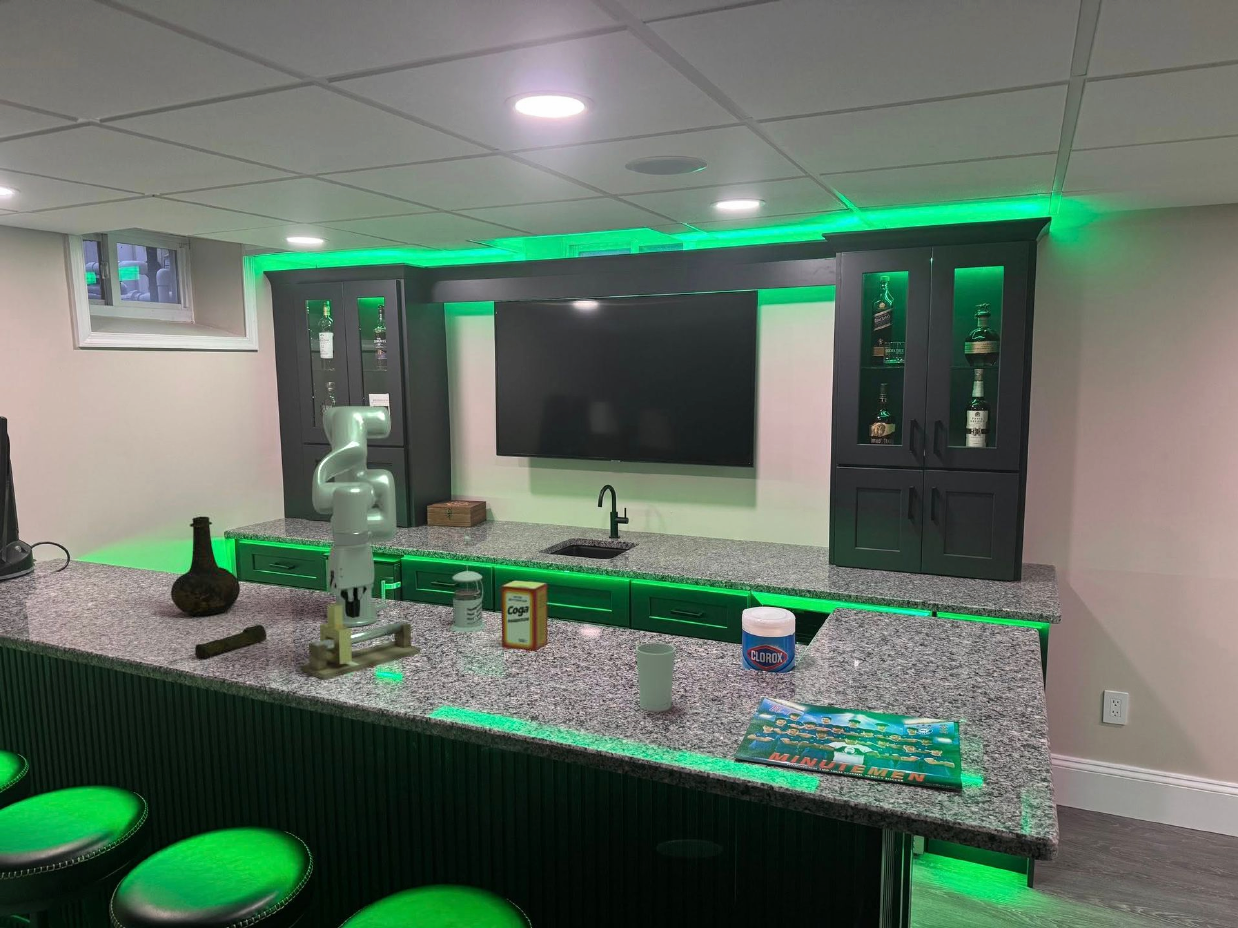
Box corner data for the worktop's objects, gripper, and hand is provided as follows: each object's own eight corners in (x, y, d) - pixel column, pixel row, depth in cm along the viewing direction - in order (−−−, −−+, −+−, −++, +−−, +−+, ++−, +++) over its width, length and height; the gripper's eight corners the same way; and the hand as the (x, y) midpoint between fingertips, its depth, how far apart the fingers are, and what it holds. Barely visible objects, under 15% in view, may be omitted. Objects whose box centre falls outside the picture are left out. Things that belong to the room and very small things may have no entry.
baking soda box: (502, 646, 214) (501, 584, 213) (514, 640, 220) (513, 579, 219) (535, 651, 211) (535, 587, 209) (547, 643, 217) (547, 582, 215)
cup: (634, 699, 177) (634, 643, 176) (671, 698, 178) (672, 642, 177) (638, 713, 169) (638, 654, 168) (677, 712, 170) (678, 653, 169)
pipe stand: (396, 645, 216) (395, 618, 215) (420, 652, 209) (419, 625, 209) (300, 670, 196) (299, 641, 195) (324, 679, 189) (323, 649, 189)
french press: (442, 629, 230) (441, 537, 228) (465, 618, 241) (464, 531, 239) (473, 633, 227) (472, 540, 225) (496, 622, 237) (495, 533, 235)
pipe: (400, 630, 212) (400, 619, 212) (407, 632, 210) (407, 621, 210) (312, 652, 194) (312, 640, 194) (319, 655, 192) (318, 643, 192)
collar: (332, 654, 201) (331, 600, 200) (351, 661, 196) (350, 606, 194) (320, 657, 198) (319, 603, 197) (339, 664, 193) (338, 608, 192)
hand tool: (204, 661, 203) (203, 642, 203) (194, 658, 205) (193, 640, 205) (272, 642, 219) (272, 624, 219) (263, 639, 221) (262, 622, 221)
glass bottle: (253, 607, 254) (250, 514, 252) (206, 622, 237) (202, 522, 235) (206, 602, 260) (203, 511, 257) (157, 617, 243) (153, 519, 240)
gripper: (369, 533, 206) (371, 607, 208) (312, 541, 195) (315, 619, 197) (387, 536, 202) (389, 612, 203) (330, 545, 190) (332, 625, 192)
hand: (352, 616), depth 200 cm, fingers closed
